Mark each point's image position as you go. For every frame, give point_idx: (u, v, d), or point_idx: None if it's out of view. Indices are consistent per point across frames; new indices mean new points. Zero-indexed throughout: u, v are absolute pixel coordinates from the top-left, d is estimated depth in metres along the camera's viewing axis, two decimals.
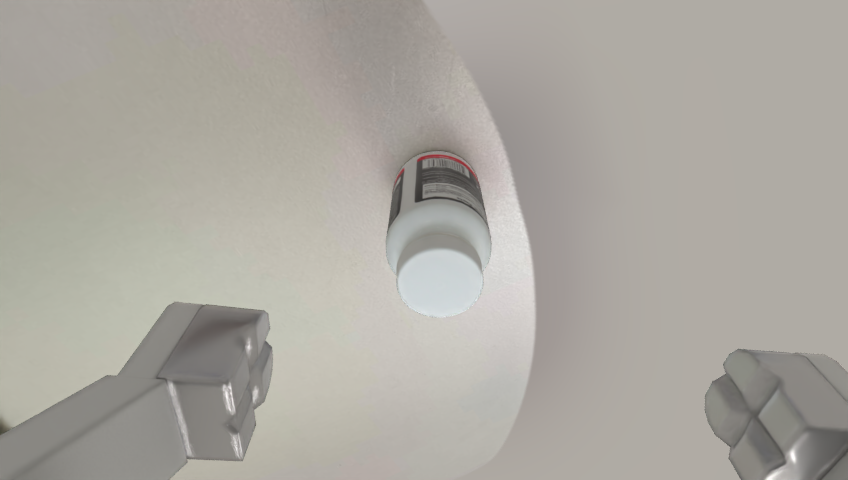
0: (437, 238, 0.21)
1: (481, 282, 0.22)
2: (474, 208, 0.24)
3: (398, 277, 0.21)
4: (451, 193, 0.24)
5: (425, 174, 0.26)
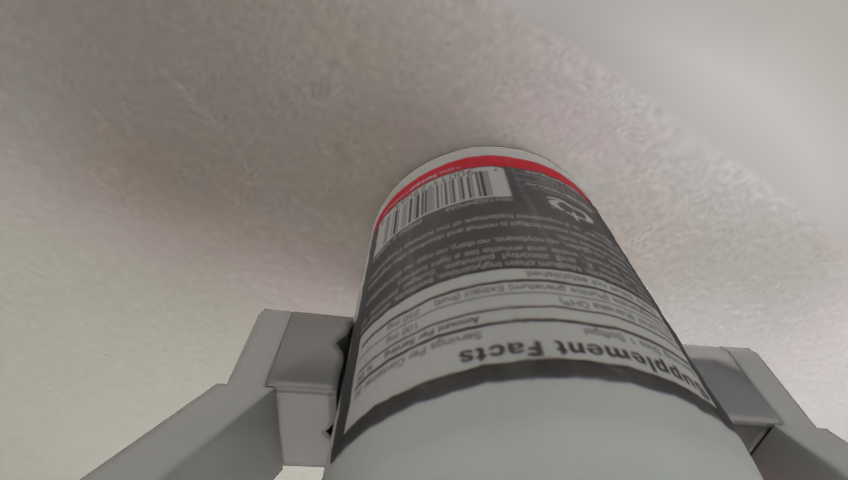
0: None
1: None
2: (559, 357, 0.05)
3: None
4: (436, 341, 0.05)
5: (373, 281, 0.08)
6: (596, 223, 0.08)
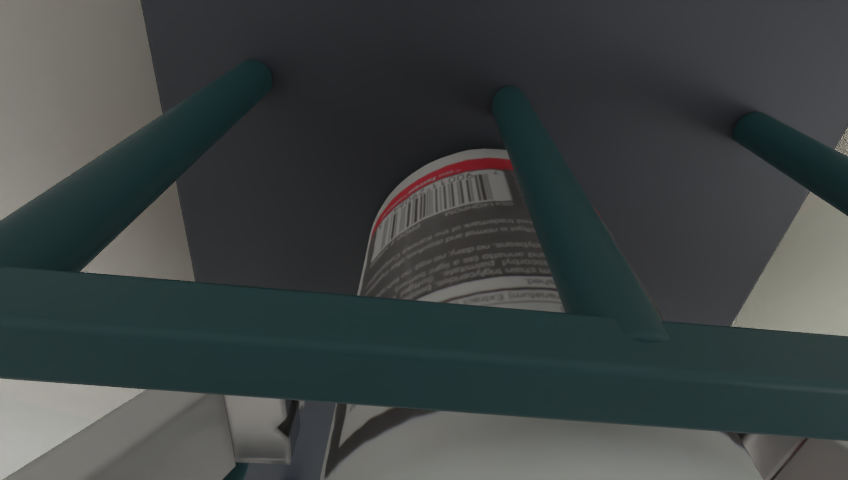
0: None
1: None
2: None
3: None
4: None
5: (370, 287, 0.08)
6: None
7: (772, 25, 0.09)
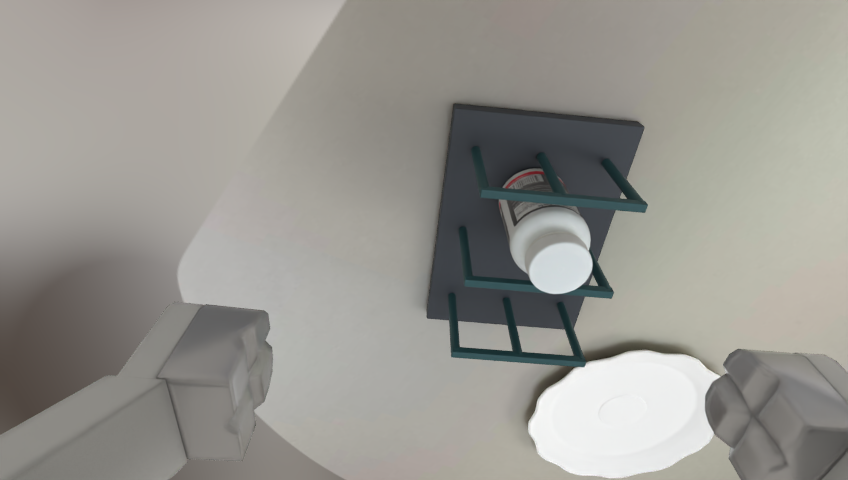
0: (538, 242, 0.30)
1: (585, 251, 0.29)
2: (554, 204, 0.31)
3: (531, 280, 0.30)
4: (533, 205, 0.32)
5: None
6: (563, 187, 0.35)
7: (607, 138, 0.35)
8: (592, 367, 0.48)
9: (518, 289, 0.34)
